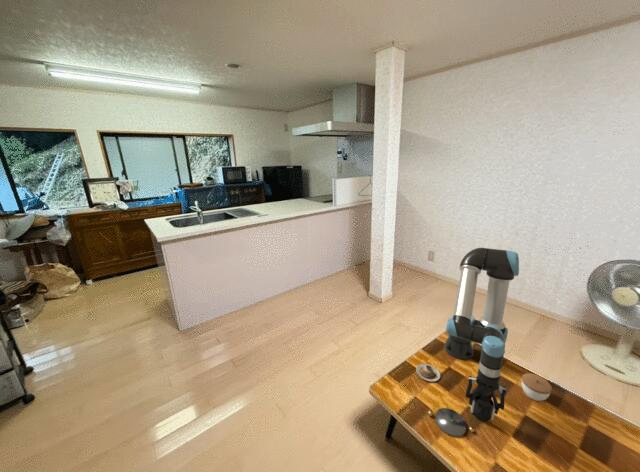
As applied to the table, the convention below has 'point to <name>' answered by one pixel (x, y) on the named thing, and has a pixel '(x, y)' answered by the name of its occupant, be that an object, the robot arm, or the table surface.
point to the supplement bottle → (483, 406)
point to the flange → (451, 422)
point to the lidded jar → (536, 387)
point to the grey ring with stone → (428, 372)
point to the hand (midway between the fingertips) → (481, 413)
